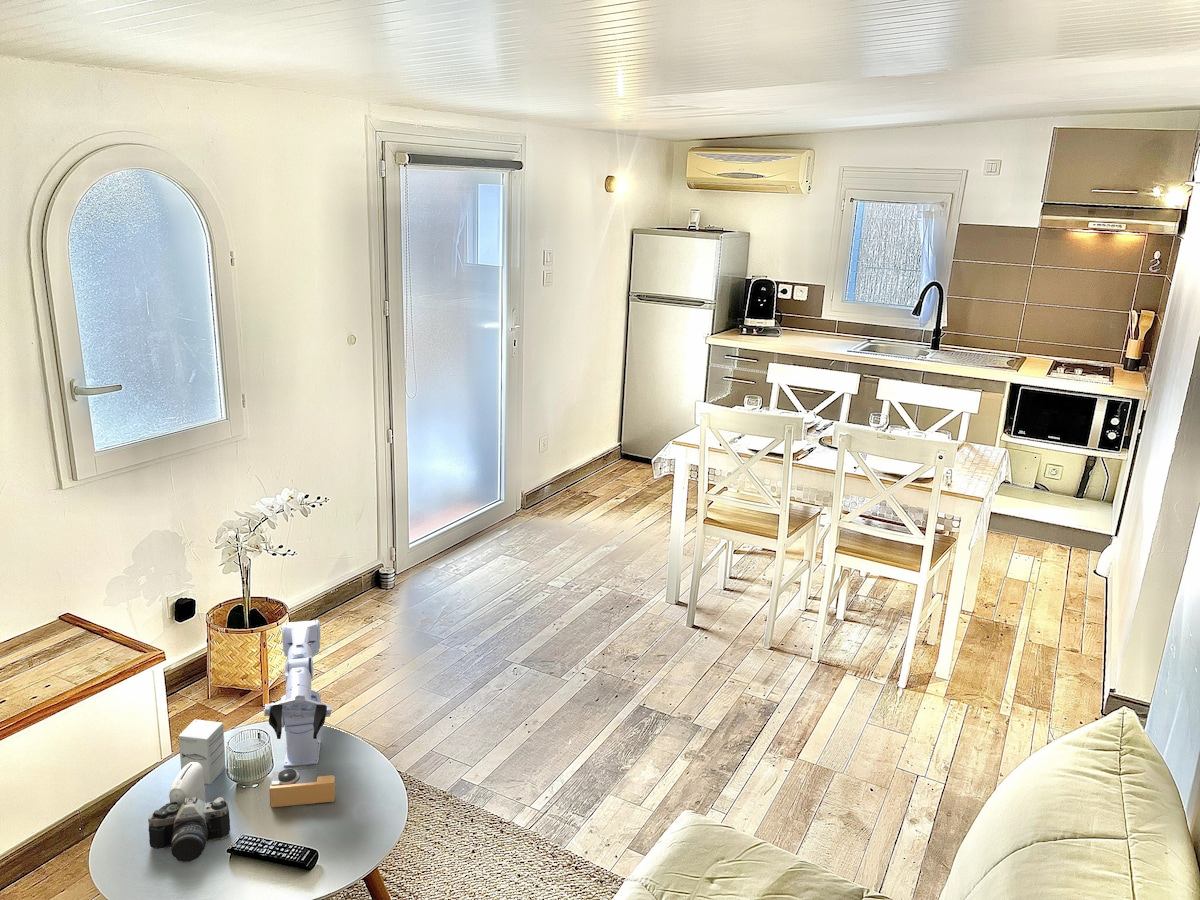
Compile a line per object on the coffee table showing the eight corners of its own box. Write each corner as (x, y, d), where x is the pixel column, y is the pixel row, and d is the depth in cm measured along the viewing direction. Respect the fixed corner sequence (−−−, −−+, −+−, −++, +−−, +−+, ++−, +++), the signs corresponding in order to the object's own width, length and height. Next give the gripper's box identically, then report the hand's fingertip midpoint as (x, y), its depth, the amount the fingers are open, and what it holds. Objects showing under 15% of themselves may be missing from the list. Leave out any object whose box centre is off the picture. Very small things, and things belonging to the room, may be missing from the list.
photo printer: (190, 835, 191) (185, 786, 187) (169, 834, 190) (165, 785, 187) (208, 804, 200) (205, 756, 197) (189, 803, 200) (185, 756, 197)
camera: (144, 873, 180) (140, 832, 177) (152, 839, 189) (148, 799, 186) (228, 859, 184) (225, 818, 182) (231, 826, 194) (228, 787, 191)
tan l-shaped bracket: (272, 799, 202) (271, 780, 201) (335, 793, 206) (334, 775, 204) (271, 807, 200) (270, 788, 198) (334, 801, 203) (333, 782, 202)
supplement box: (180, 782, 207) (176, 735, 204) (198, 763, 214) (194, 717, 211) (210, 786, 207) (206, 739, 203) (227, 767, 214) (223, 721, 210)
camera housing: (273, 788, 207) (272, 768, 205) (318, 784, 209) (317, 764, 207) (270, 806, 201) (269, 785, 199) (316, 801, 203) (315, 781, 202)
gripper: (267, 680, 203) (265, 721, 192) (332, 682, 209) (333, 721, 197) (264, 704, 206) (261, 746, 194) (328, 705, 211) (329, 746, 199)
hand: (297, 735), depth 196 cm, fingers open, 7 cm apart
